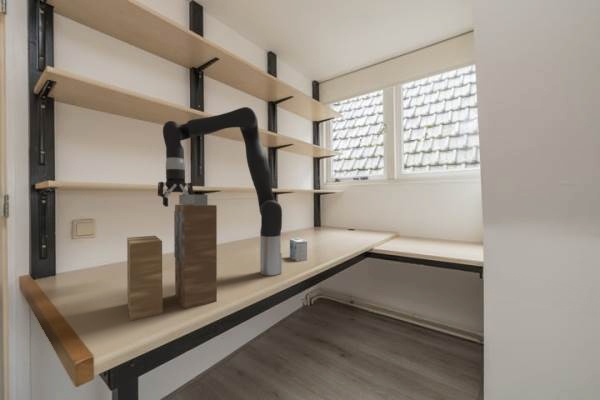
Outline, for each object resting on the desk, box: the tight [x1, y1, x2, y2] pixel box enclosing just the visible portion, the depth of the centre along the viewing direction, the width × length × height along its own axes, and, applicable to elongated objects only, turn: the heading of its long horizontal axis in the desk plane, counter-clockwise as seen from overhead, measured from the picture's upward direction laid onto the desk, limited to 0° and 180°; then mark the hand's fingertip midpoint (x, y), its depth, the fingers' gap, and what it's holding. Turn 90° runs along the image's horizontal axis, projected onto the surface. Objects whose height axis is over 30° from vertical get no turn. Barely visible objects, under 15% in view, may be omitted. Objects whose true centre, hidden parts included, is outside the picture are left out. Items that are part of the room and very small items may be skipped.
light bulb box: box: [289, 237, 308, 261], centre depth 146 cm, size 11×7×11 cm, turn 24°
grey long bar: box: [178, 194, 208, 206], centre depth 91 cm, size 22×4×4 cm, turn 37°
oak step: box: [126, 235, 163, 321], centre depth 80 cm, size 14×8×22 cm, turn 37°
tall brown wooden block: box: [173, 204, 218, 310], centre depth 88 cm, size 14×11×32 cm
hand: (176, 206), depth 113 cm, fingers open, 8 cm apart
